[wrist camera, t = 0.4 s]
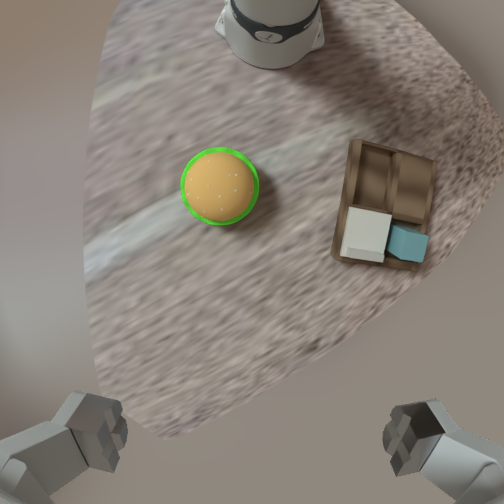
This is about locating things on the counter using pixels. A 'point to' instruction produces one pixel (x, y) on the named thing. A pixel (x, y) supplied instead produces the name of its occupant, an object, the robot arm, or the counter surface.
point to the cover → (365, 234)
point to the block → (406, 243)
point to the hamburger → (219, 186)
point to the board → (385, 193)
